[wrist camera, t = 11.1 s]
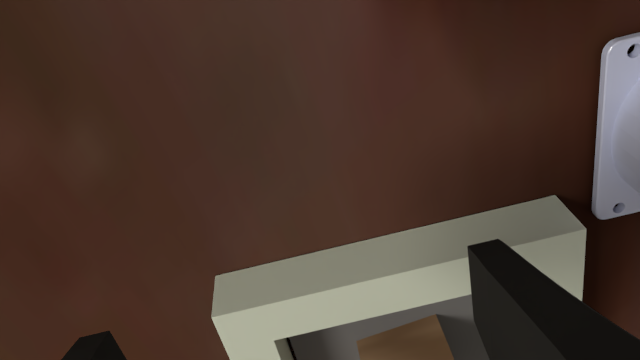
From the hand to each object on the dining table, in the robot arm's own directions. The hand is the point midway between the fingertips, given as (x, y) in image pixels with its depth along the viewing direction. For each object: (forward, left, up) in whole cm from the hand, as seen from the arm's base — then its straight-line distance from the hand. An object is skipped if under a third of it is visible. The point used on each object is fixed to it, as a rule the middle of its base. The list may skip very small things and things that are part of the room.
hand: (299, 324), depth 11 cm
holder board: (-3, +14, -10) cm, 18 cm away
